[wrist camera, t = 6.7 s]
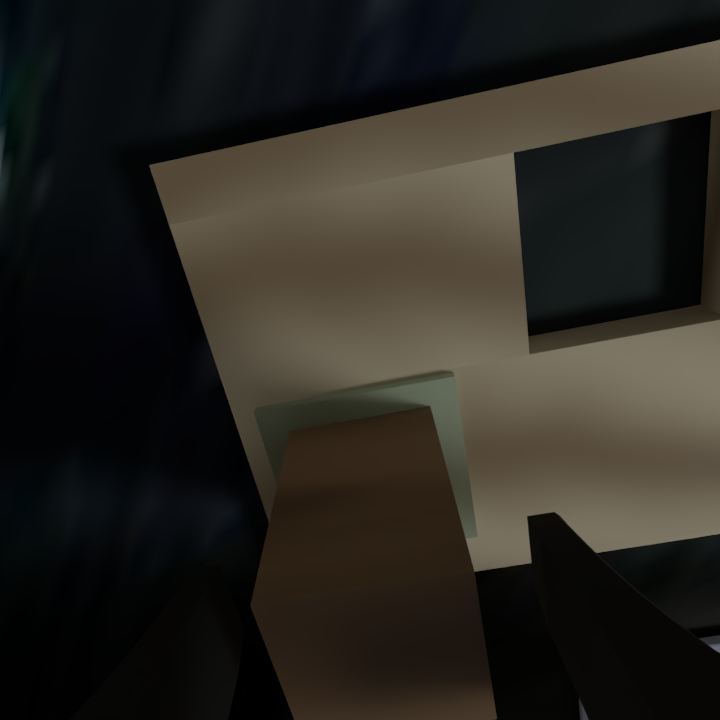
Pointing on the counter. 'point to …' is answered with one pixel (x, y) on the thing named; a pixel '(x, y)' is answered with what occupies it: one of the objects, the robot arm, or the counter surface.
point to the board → (459, 308)
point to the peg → (371, 578)
